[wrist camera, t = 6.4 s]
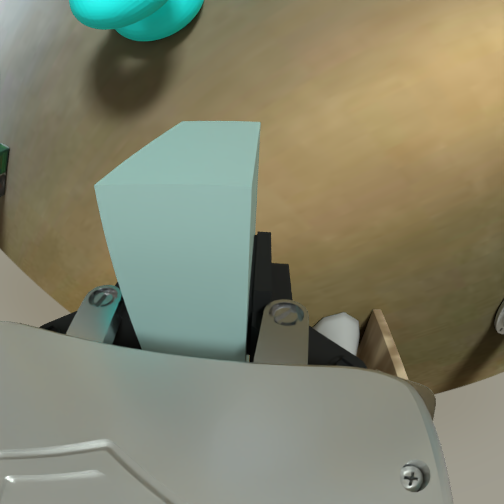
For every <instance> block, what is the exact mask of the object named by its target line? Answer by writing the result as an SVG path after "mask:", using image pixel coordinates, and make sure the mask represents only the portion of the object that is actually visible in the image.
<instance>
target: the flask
mask: <svg viewBox="0 0 504 504" xmlns="http://www.w3.org/2000/svg"><path fill="white" fill-rule="evenodd" d="M313 329H315V330H316V331H318V332H319V333H321V334H323V335H324V336H326V337H327V338H329V339H330V340H332V341H333V342H335V343H336V344H338V345H339V346H341V347H343V348H344V349H346V350H347V351H349V352H350V353H352V354H353V355H355V356H356V354H357V348H358V344H359V338H360V330H359V322H358V320H356V319H355V318H353V317H351V316H350V315H348V314H346V313H345V312H343V313H340V314H336V315H332V316H328V317H324V318H323V319H322V320H320V321H319V322H318V323H317V324H316V325H315V326H314V327H313Z"/></svg>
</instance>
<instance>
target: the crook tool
mask: <svg viewBox="0 0 504 504" xmlns="http://www.w3.org/2000/svg"><path fill="white" fill-rule="evenodd" d="M259 142H260V122H243V121H184V122H181V123H179V124H178V125H176V126H174V127H173V128H171V129H170V130H168V131H167V132H165V133H164V134H162V135H161V136H159V137H158V138H156V139H155V140H153V141H152V142H151V143H149V144H148V145H146V146H145V147H143V148H142V149H141V150H139V151H138V152H136V153H135V154H134V155H132V156H131V157H130V158H128V159H127V160H126V161H124V162H123V163H122V164H120V165H119V166H118V167H116V168H115V169H114V170H113V171H111V172H110V173H109V174H108V175H106V176H105V177H104V178H103V179H101V180H100V181H99V182H98V183H96V184H95V185H94V187H95V192H96V197H97V202H98V207H99V212H100V216H101V221H102V225H103V229H104V233H105V237H106V241H107V245H108V249H109V252H110V256H111V260H112V263H113V267H114V270H115V273H116V277H117V280H118V283H119V287H120V290H121V293H122V296H123V299H124V302H125V305H126V308H127V311H128V314H129V316H130V319H131V322H132V325H133V327H134V330H135V333H136V335H137V338H138V341H139V343H140V346H141V348H142V350H146V351H153V352H159V353H166V354H174V355H181V356H189V357H198V358H207V359H217V360H228V361H240V362H249V355H246V352H247V330H248V307H249V288H250V277H251V265H252V254H253V242H254V235H255V225H256V205H257V184H258V163H259Z"/></svg>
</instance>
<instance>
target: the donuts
mask: <svg viewBox="0 0 504 504" xmlns="http://www.w3.org/2000/svg"><path fill="white" fill-rule="evenodd" d="M203 1H204V0H69V4H70V8H71V11H72V13H73V15H74V16H75V17H76V18H77V19H78V20H79V21H80V22H81V23H82V24H84V25H86V26H88V27H91V28H95V29H105V30H106V29H115V30H116V31H117V32H118V33H119V34H120V35H122V36H124V37H126V38H128V39H131V40H135V41H154V40H159V39H162V38H165V37H168V36H170V35H172V34H174V33H176V32H178V31H179V30H181V29H182V28H184V27H185V26H186V25H187V24H188V23H190V22H191V21H192V19H193V18H194V17H195V16H196V15H197V13H198V12H199V10H200V8H201V6H202V4H203Z"/></svg>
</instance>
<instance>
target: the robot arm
mask: <svg viewBox="0 0 504 504" xmlns="http://www.w3.org/2000/svg"><path fill="white" fill-rule="evenodd" d="M494 325H495V329H496V330H497V332H498V333H500V334H504V301H503V302H502V304H501V306H500V307H499V309H498V312H497V314H496V317H495V322H494ZM246 355H250V362H240V361H228V360H217V359H207V358H198V357H189V356H181V355H174V354H166V353H159V352H153V351H146V350H142V348H141V346H140V343H139V341H138V338H137V335H136V333H135V330H134V327H133V325H132V322H131V319H130V316H129V314H128V311H127V308H126V305H125V302H124V299H123V296H122V293H121V290H120V287H119V283H118V282H117V284H116V285H115V286H112V285H103V286H99V287H96V288H94V289H93V290H91V291H90V292H89V293H88V294H87V295H86V297H85V298H84V300H83V302H82V304H81V306H80V307H79V309H78V311H76V312H73V313H71V314H69V315H66V316H63V317H61V318H59V319H56V320H54V321H51V322H49V323H47V324H44V325H42V326H41V327H39V328H38V327H34V326H29V325H26V324H22V323H15V322H8V321H6V322H5V321H0V504H453V498H452V492H451V487H450V482H449V477H448V472H447V467H446V463H445V458H444V454H443V451H442V447H441V444H440V441H439V438H438V435H437V432H436V428H435V426H434V423H433V417H434V411H435V406H436V399H435V396H434V394H433V392H432V391H431V390H430V389H429V388H428V387H426V386H424V385H421V384H418V383H415V382H412V381H409V380H406V379H403V378H400V377H397V376H394V375H391V374H388V373H385V372H382V371H380V370H377V369H376V370H371V369H367V366H366V365H365V363H364V362H363V361H362V360H361V359H359V358H358V357H357V356H355V355H353V354H352V353H350V352H349V351H347V350H346V349H344V348H343V347H341V346H339V345H338V344H336V343H335V342H333V341H332V340H330V339H329V338H327V337H326V336H324V335H323V334H321V333H319V332H318V331H316V330H315V329H313V328H312V327H310V326H309V314H308V311H307V309H306V308H305V307H304V306H303V305H301V304H300V303H298V302H296V301H292V292H291V283H290V273H289V265H288V264H278V263H271V232H258V234H257V235H254V242H253V254H252V265H251V277H250V288H249V307H248V330H247V352H246Z"/></svg>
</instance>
